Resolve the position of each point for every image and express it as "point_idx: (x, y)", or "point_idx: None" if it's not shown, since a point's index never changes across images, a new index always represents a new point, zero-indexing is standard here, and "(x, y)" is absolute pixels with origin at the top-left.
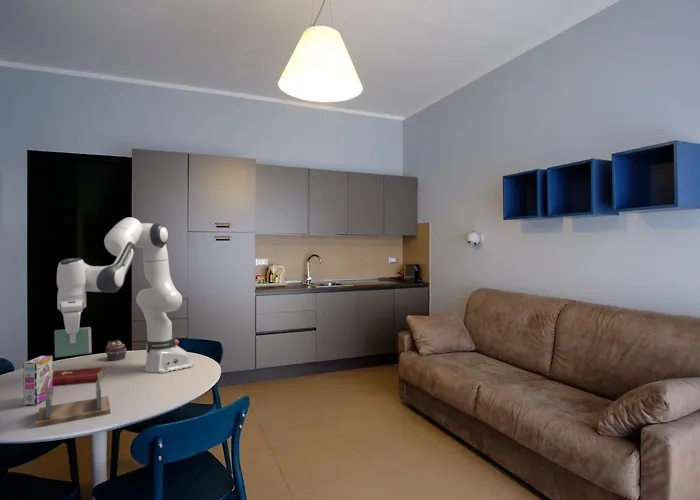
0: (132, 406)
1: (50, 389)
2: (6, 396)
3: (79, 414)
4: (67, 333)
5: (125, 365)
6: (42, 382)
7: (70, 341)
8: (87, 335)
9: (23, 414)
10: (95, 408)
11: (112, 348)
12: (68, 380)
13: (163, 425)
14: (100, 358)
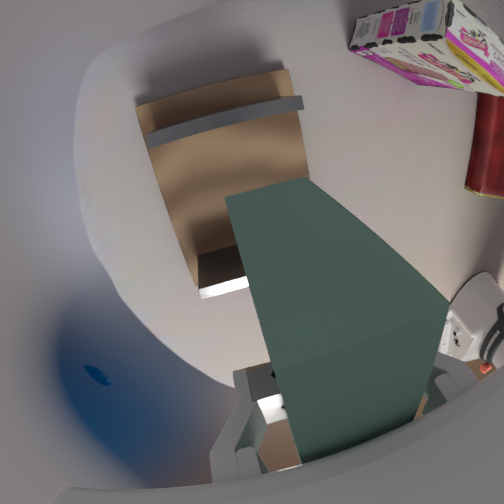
0: (234, 316)
1: (282, 109)
2: None
3: (175, 214)
4: (64, 489)
5: None
6: (411, 61)
7: (235, 383)
8: (298, 455)
9: (276, 30)
10: (216, 245)
11: None
12: (484, 119)
13: (108, 379)
14: None
